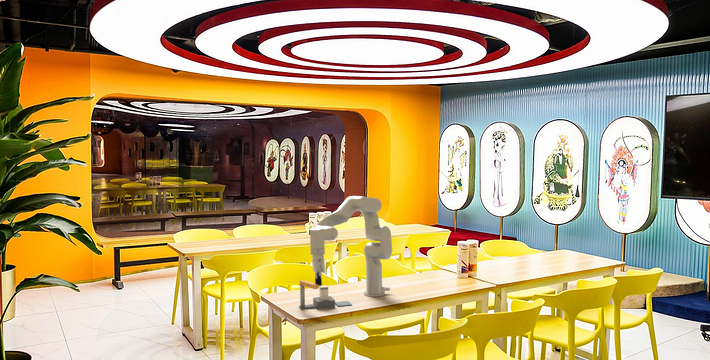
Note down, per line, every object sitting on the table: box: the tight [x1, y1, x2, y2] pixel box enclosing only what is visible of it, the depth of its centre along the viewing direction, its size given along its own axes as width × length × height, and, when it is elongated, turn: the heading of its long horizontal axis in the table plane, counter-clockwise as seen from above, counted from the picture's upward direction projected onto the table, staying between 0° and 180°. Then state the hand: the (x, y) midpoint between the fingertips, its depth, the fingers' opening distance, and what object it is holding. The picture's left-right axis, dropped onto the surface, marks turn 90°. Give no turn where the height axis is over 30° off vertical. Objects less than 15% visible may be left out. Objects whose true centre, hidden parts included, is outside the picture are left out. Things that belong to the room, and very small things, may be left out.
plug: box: [319, 284, 329, 300], centre depth 279 cm, size 4×4×11 cm
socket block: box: [298, 284, 336, 310], centre depth 278 cm, size 18×10×13 cm, turn 107°
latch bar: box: [299, 279, 320, 290], centre depth 271 cm, size 16×3×2 cm, turn 39°
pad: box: [335, 300, 353, 308], centre depth 282 cm, size 8×8×1 cm
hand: (318, 285), depth 269 cm, fingers closed
